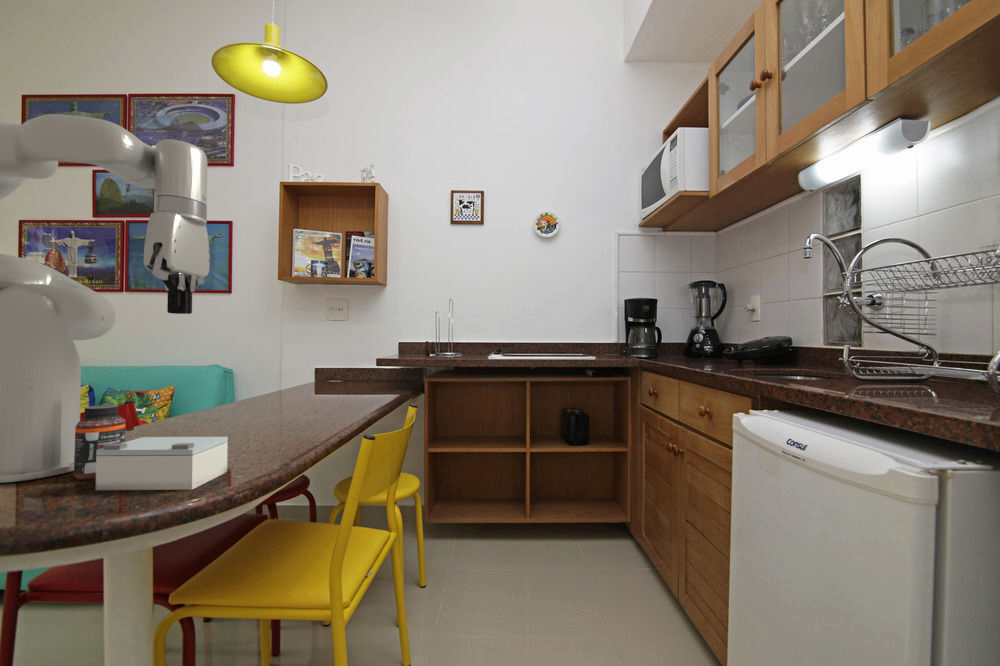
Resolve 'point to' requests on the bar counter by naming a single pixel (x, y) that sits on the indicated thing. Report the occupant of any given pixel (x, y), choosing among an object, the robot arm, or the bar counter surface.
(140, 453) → the cover
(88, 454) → the supplement bottle
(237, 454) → the bar counter surface
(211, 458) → the white hinged box
